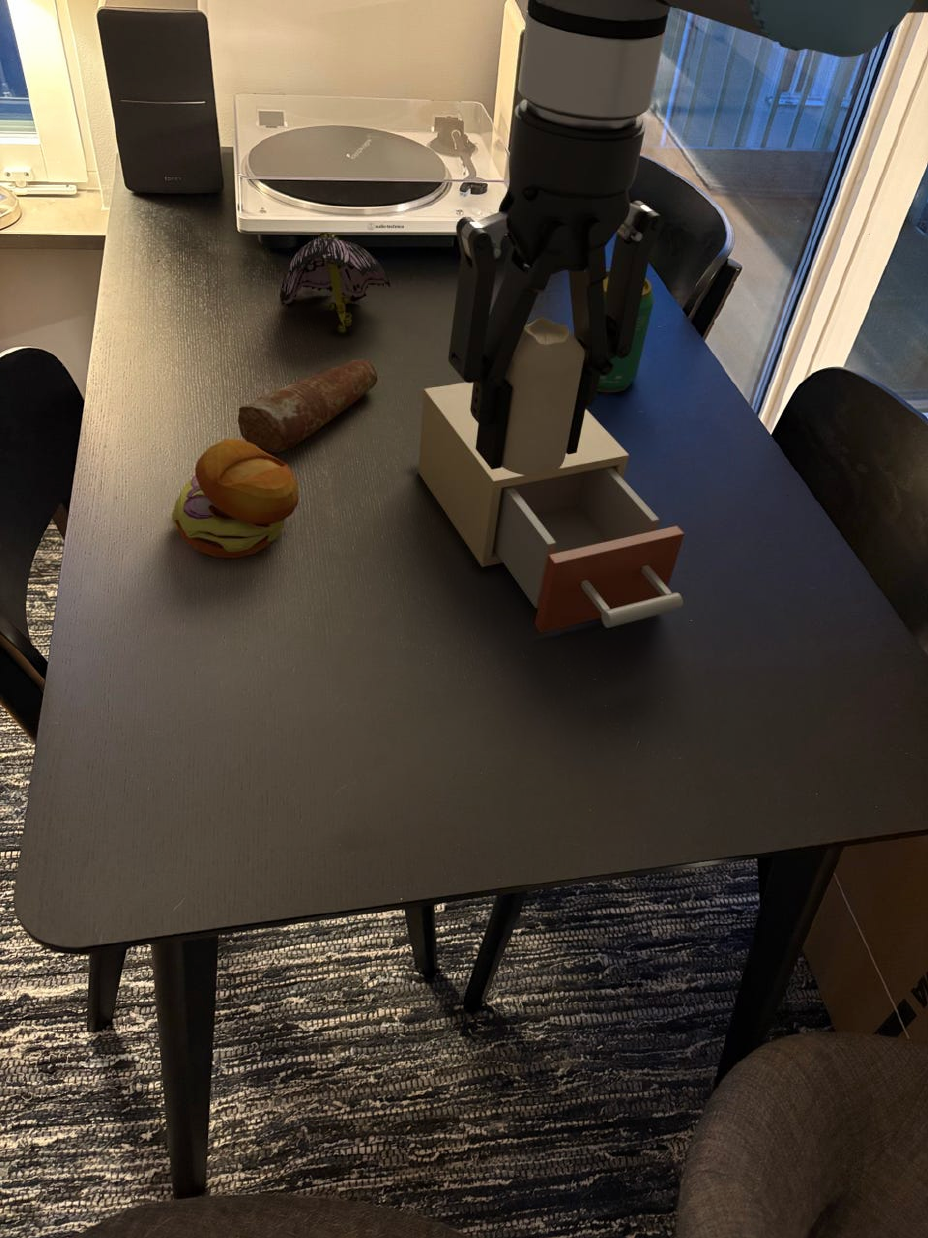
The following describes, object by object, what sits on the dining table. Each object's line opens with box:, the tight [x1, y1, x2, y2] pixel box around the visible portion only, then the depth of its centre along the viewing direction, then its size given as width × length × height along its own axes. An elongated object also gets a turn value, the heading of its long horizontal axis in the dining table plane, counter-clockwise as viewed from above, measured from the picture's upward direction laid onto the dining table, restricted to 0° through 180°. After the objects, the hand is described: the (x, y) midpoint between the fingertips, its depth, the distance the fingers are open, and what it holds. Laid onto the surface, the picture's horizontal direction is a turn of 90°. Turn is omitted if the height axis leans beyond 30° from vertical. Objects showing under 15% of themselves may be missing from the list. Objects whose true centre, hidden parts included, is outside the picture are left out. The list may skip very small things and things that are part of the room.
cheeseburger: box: [171, 438, 299, 559], centre depth 88 cm, size 10×11×10 cm
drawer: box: [493, 466, 685, 634], centre depth 86 cm, size 20×13×8 cm, turn 24°
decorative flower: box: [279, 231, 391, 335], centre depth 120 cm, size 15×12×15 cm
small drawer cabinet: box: [417, 381, 630, 568], centre depth 94 cm, size 16×14×10 cm
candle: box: [501, 317, 585, 476], centre depth 67 cm, size 6×6×10 cm
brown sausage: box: [237, 358, 378, 453], centre depth 103 cm, size 6×19×6 cm, turn 145°
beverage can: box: [597, 269, 655, 393], centre depth 114 cm, size 8×8×12 cm
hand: (526, 450), depth 71 cm, fingers closed on candle, 5 cm apart
